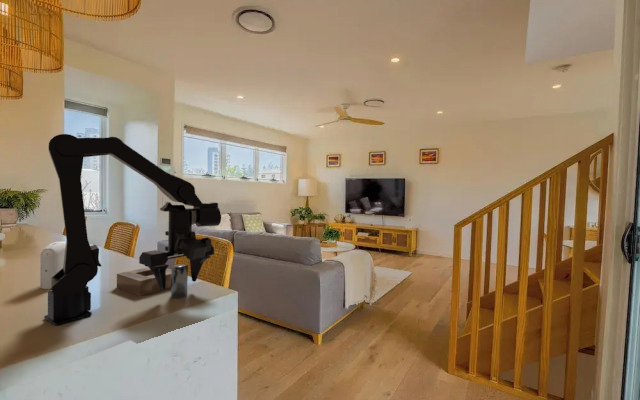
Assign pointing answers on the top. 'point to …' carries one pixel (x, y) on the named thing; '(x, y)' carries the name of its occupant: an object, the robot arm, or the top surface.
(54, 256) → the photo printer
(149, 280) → the socket block
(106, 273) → the top surface
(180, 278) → the grey metal cylinder
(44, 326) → the top surface
